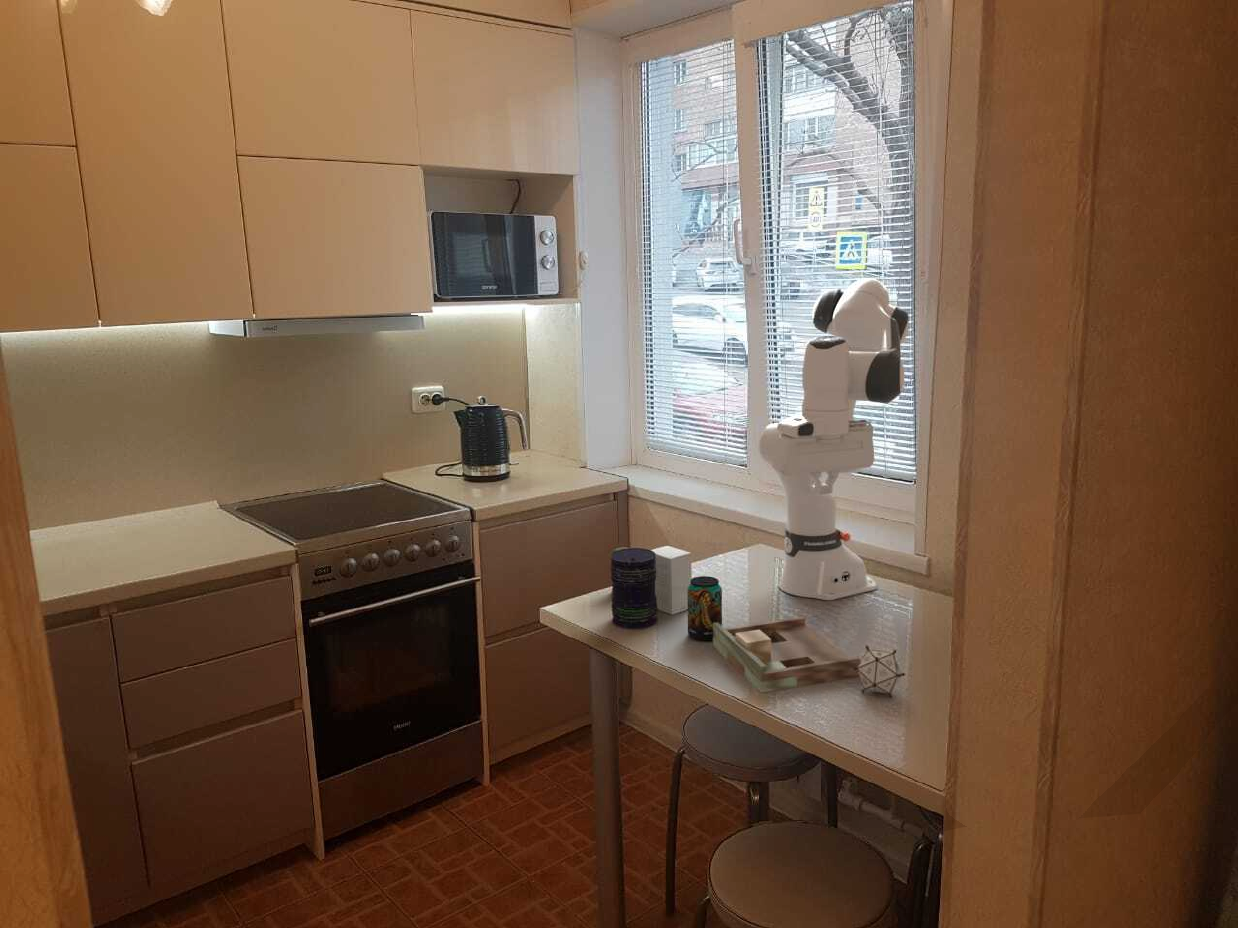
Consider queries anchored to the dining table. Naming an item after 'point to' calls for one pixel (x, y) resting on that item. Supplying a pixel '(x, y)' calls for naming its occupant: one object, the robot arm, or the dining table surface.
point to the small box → (672, 579)
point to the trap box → (785, 655)
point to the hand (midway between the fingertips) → (823, 493)
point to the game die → (878, 671)
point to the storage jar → (634, 588)
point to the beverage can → (704, 607)
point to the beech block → (756, 643)
